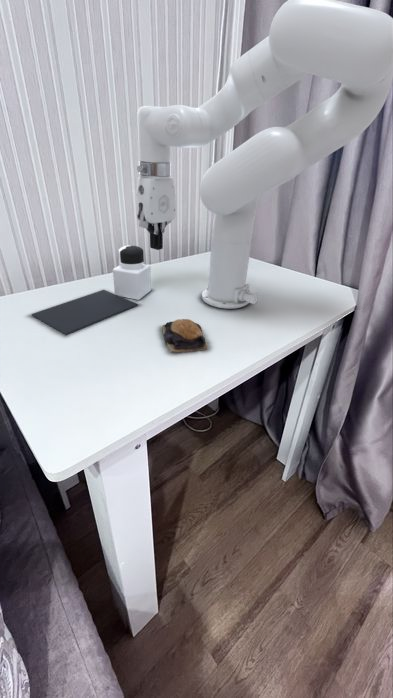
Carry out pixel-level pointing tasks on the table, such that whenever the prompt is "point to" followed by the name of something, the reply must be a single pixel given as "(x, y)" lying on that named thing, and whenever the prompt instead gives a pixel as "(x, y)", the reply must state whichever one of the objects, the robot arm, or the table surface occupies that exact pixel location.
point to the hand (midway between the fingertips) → (156, 248)
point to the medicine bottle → (132, 274)
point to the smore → (183, 336)
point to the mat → (83, 311)
